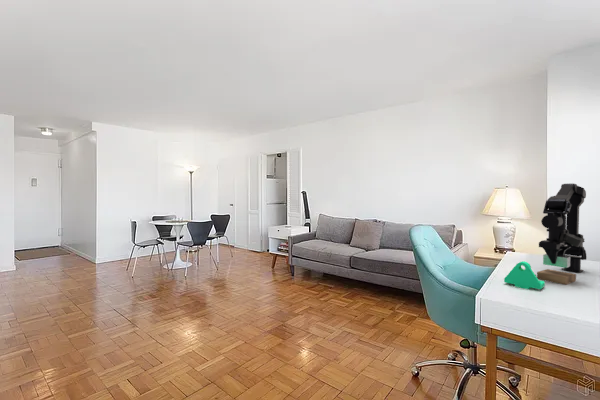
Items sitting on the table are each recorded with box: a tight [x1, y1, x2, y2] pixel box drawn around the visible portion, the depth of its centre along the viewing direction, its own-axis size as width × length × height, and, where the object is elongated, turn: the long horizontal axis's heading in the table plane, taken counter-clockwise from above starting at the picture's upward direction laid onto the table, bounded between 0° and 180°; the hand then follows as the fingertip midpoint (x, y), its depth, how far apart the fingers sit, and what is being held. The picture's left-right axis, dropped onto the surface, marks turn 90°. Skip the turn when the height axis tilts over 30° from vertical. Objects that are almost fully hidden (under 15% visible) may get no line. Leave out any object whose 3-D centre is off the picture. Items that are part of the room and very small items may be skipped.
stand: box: [536, 268, 577, 286], centre depth 130 cm, size 10×10×3 cm
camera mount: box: [503, 261, 546, 290], centre depth 122 cm, size 12×8×10 cm, turn 40°
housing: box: [542, 253, 570, 268], centre depth 130 cm, size 5×8×4 cm, turn 37°
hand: (556, 262), depth 130 cm, fingers closed on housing, 5 cm apart
